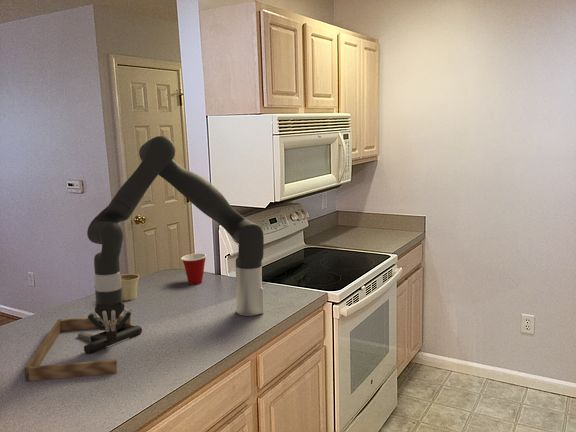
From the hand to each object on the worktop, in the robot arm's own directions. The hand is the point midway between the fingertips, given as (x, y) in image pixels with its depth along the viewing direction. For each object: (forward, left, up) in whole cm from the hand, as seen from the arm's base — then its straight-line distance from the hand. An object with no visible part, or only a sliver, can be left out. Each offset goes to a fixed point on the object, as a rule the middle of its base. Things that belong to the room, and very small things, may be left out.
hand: (111, 341), depth 155 cm
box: (+7, 0, -2) cm, 8 cm away
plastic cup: (-26, -63, -2) cm, 68 cm away
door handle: (+3, -8, -3) cm, 9 cm away
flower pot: (0, -47, -2) cm, 47 cm away
